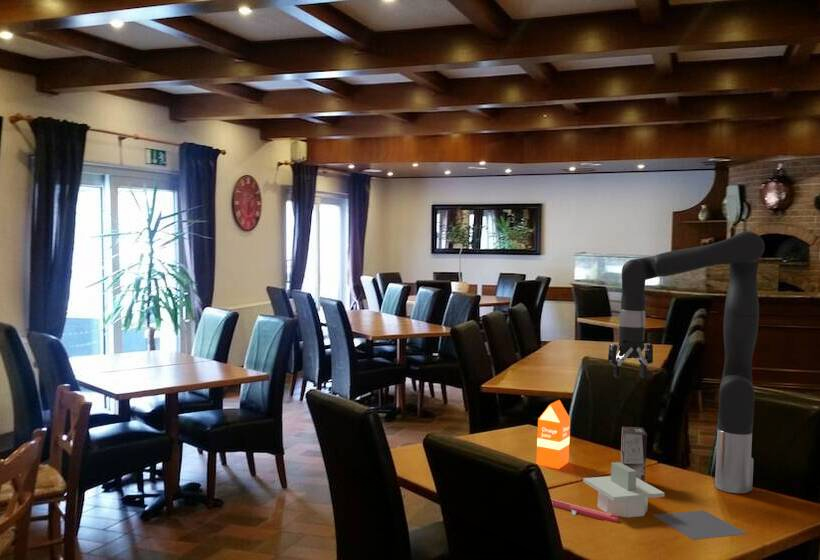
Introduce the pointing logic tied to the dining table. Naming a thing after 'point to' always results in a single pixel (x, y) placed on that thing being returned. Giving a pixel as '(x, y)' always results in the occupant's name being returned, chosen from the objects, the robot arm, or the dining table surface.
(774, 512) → the dining table surface
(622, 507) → the bowl
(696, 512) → the mat
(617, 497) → the cover
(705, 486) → the dining table surface
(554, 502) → the red piece
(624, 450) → the coffee box
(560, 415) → the orange juice
